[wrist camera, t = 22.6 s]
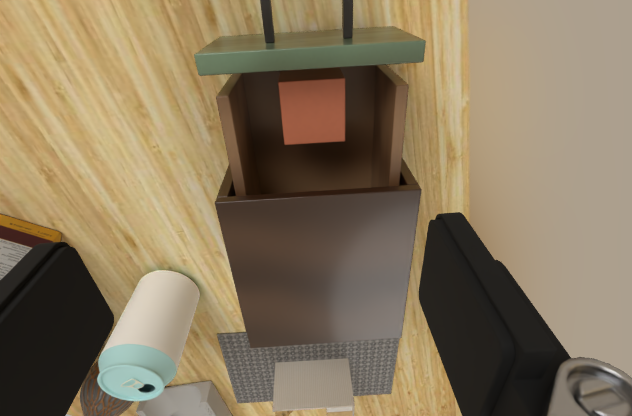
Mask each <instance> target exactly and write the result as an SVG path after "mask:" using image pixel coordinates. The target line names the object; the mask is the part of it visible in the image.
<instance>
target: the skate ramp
mask: <svg viewBox="0 0 632 416" xmlns="http://www.w3.org/2000/svg"><path fill="white" fill-rule="evenodd" d="M136 412H137V414H139V415H137V416H232V414H231V412H230V411H229V409H228V407H227V406H226V404H225V403H224V401H223V399H222V398H221V396H220V394H219V393H218V391H217V389H216V388H215V386H214V384H213V383H212V381H205V382H199V383H192V384H185V385H177V386H170V387H164V390H163V392H162V393H161V394H160V395H159V396H157V397H155V398H153V399H150V400H146V401H140V402H139V405H138V408H137V410H136ZM135 414H136V413H135Z"/></svg>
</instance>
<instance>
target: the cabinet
mask: <svg viewBox="0 0 632 416" xmlns="http://www.w3.org/2000/svg"><path fill="white" fill-rule="evenodd" d="M420 196H421V188H420V187H419V185H418V183H417V181H416V180H415V178H414V176H413V175H412V173H411V171H410V170H409V168H408V166H407V165H406V163H405V161H404V160H403V158H402V160H401V171H400V181H399V186H386V187H371V188H355V189H340V190H324V191H309V192H293V193H278V194H262V195H247V196H236V193H235V188H234V183H233V179H232V174H231V169H230V164H229V166H228V169H227V171H226V174H225V177H224V179H223V182H222V185H221V187H220V190H219V193H218V195H217V198H216V201H215V206H216V210H217V214H218V218H219V222H220V226H221V231H222V235H223V239H224V243H225V247H226V251H227V255H228V259H229V263H230V267H231V271H232V275H233V279H234V284H235V288H236V292H237V296H238V300H239V304H240V308H241V312H242V316H243V320H244V324H245V328H246V332H247V337H248V341H249V345H250V348H264V347H279V346H293V345H307V344H322V343H336V342H350V341H364V340H379V339H393V338H401V336H402V328H403V321H404V314H405V306H406V299H407V292H408V284H409V277H410V270H411V262H412V255H413V248H414V240H415V233H416V226H417V218H418V211H419V204H420Z"/></svg>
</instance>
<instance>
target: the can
mask: <svg viewBox="0 0 632 416" xmlns="http://www.w3.org/2000/svg"><path fill="white" fill-rule="evenodd" d="M199 298H200V293H199V289H198V287H197V285H196V284H195V283H194V282H193V281H192V280H191V279H190V278H188V277H186V276H185V275H183V274H180V273H177V272H174V271H167V270H160V271H154V272H150V273H148V274H146V275H145V276H143V277H142V278H141V279H140V281H139V283H138V285H137V287H136V288H135V290H134V292H133V294H132V296H131V298H130V300H129V302H128V304H127V306H126V307H125V309H124V311H123V313H122V315H121V317H120V319H119V321H118V323H117V325H116V326H115V328H114V330H113V332H112V334H111V336H110V338H109V340H108V342H107V343H106V345H105V347H104V349H103V351H102V353H101V355H100V357H99V360H98V366H99V371H100V373H99V375H98V378H97V381H98V384H99V386H100V388H101V389H102V390H103V391H105V392H106V393H107V394H109V395H111V396H113V397H116V398H119V399H122V400H127V401H146V400H150V399H153V398H155V397H157V396H159V395H160V394H161V393H162V392H163V390H164V387H165V386H166V385H167V384H168V383H170V382H171V381H172V380H173V378H174V377H175V375H176V372H177V369H178V366H179V363H180V359H181V356H182V353H183V350H184V347H185V343H186V340H187V337H188V334H189V330H190V327H191V324H192V321H193V317H194V314H195V311H196V308H197V304H198V301H199Z"/></svg>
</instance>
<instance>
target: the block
mask: <svg viewBox="0 0 632 416" xmlns="http://www.w3.org/2000/svg"><path fill="white" fill-rule="evenodd" d="M278 88H279V97H280V107H281V117H282V126H283V136H284V144H285V145H293V144H309V143H325V142H341V141H345V77H344V75H343V73H342V71H341V69H340V67H336V68H319V69H303V70H286V71H280V75H279V80H278Z"/></svg>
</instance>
